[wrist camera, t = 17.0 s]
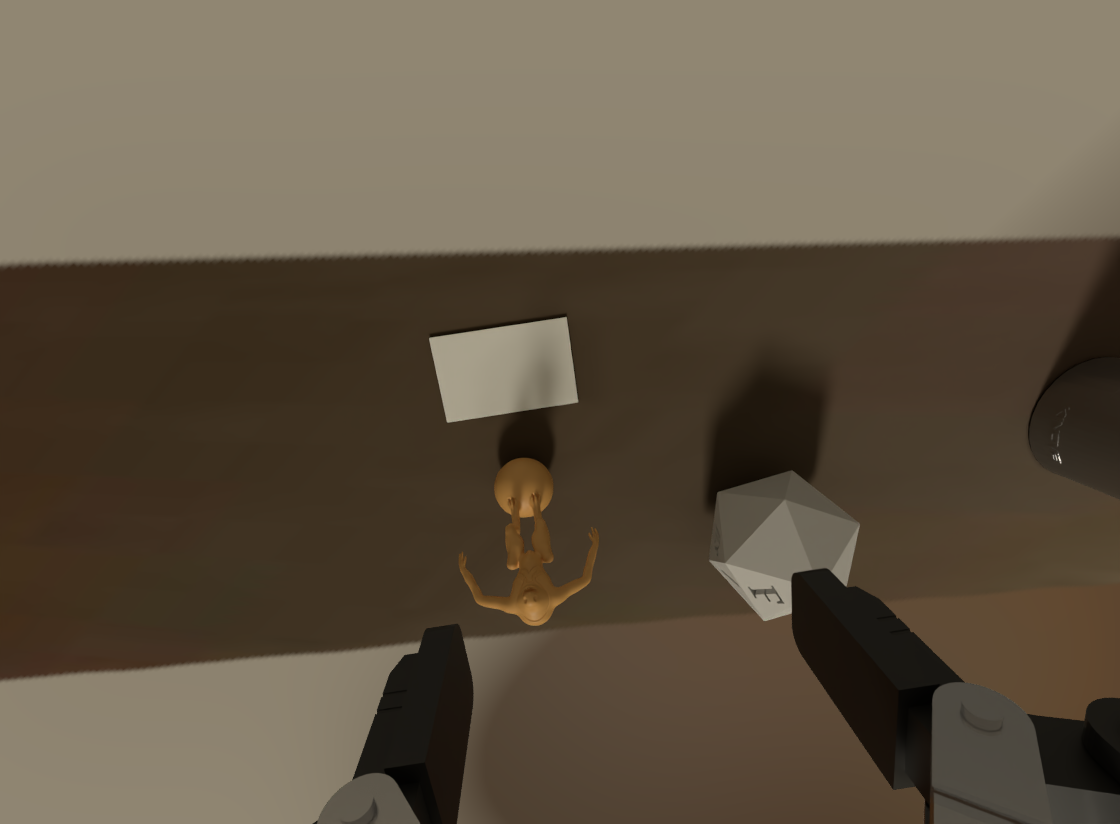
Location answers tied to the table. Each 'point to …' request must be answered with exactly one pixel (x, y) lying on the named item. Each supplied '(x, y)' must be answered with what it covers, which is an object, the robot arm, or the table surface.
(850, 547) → the die
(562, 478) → the table surface
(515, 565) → the figurine
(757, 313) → the table surface
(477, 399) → the grey mat
